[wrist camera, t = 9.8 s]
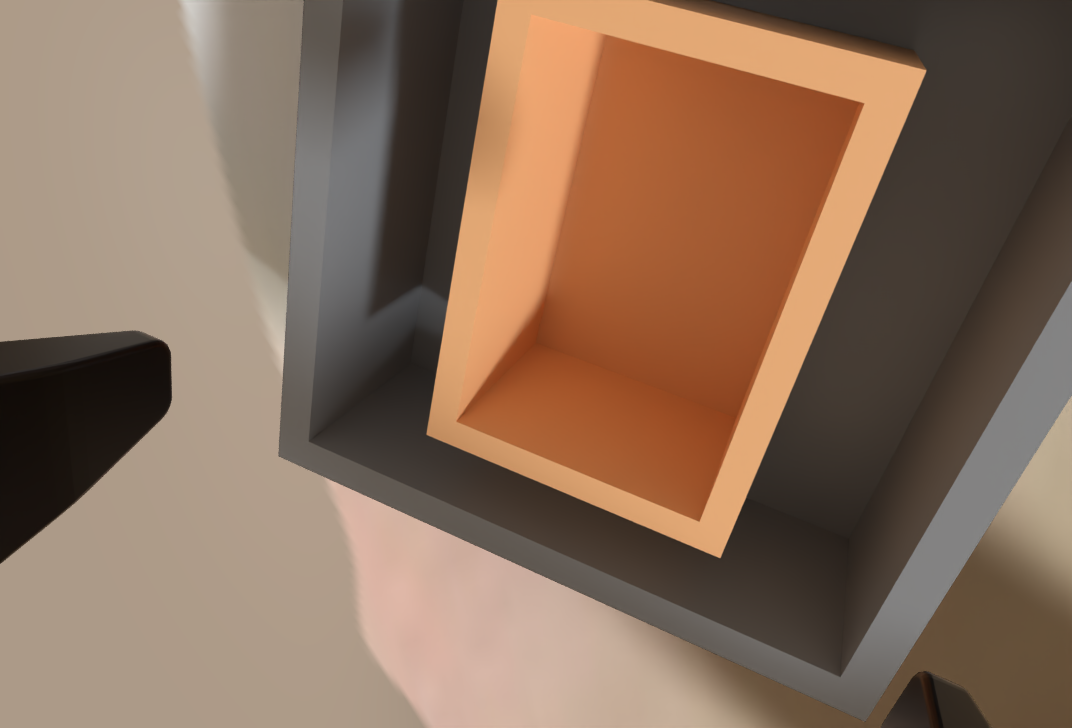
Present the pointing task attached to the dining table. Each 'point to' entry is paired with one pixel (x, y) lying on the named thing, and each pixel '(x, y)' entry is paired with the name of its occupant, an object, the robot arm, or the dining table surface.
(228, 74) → the dining table surface
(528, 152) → the orange crate
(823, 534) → the grey open box
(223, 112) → the dining table surface
